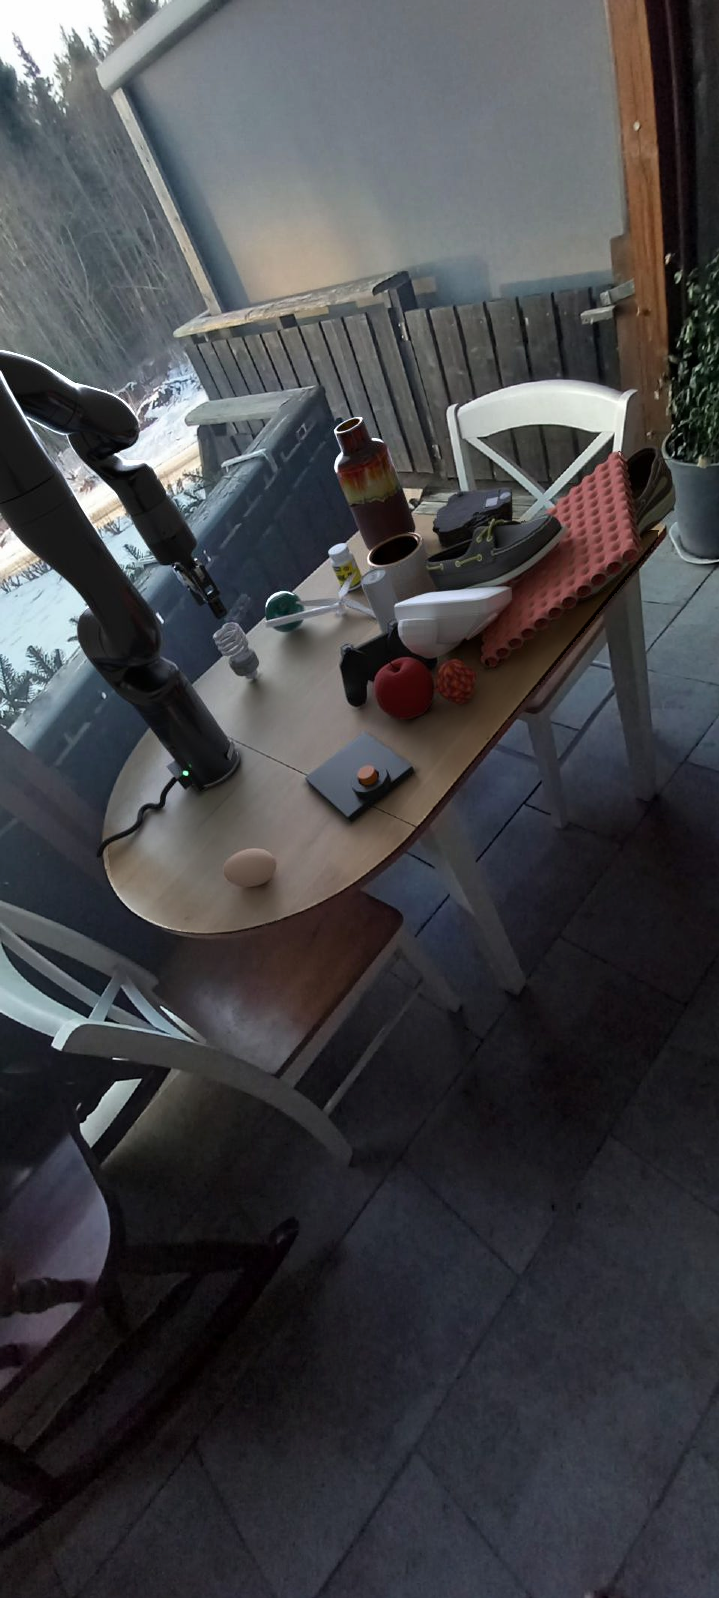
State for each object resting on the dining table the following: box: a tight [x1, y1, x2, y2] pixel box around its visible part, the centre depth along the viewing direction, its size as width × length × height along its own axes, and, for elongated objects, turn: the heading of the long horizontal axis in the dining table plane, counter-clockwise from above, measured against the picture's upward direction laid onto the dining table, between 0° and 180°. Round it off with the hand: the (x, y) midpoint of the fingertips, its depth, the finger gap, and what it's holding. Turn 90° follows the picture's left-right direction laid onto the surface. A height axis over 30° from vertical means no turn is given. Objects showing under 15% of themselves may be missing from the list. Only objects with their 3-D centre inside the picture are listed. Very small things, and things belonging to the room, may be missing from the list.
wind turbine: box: [264, 572, 376, 629], centre depth 143 cm, size 4×14×21 cm
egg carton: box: [480, 450, 643, 668], centre depth 117 cm, size 28×28×2 cm
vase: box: [333, 416, 417, 552], centre depth 147 cm, size 11×11×26 cm
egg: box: [222, 847, 277, 888], centre depth 104 cm, size 5×5×8 cm
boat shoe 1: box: [425, 513, 568, 592], centre depth 121 cm, size 11×29×9 cm, turn 60°
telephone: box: [394, 586, 512, 659], centre depth 119 cm, size 16×20×9 cm
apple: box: [373, 657, 435, 720], centre depth 115 cm, size 9×9×10 cm
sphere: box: [263, 590, 306, 634], centre depth 147 cm, size 8×8×8 cm
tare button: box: [357, 766, 378, 786], centre depth 106 cm, size 3×3×2 cm
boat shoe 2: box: [577, 445, 677, 603], centre depth 122 cm, size 32×13×12 cm, turn 127°
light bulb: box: [212, 621, 260, 680], centre depth 139 cm, size 6×6×12 cm
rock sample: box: [431, 486, 514, 548], centre depth 148 cm, size 18×16×5 cm
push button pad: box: [304, 731, 416, 824], centre depth 111 cm, size 14×12×3 cm
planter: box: [366, 532, 436, 603], centre depth 138 cm, size 11×11×10 cm
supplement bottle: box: [328, 542, 363, 592], centre depth 150 cm, size 5×5×8 cm
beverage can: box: [361, 568, 399, 634], centre depth 131 cm, size 5×5×12 cm
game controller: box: [338, 619, 438, 708], centre depth 124 cm, size 16×7×10 cm, turn 107°
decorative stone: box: [434, 658, 478, 706], centre depth 112 cm, size 6×7×8 cm
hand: (213, 609), depth 132 cm, fingers open, 8 cm apart
